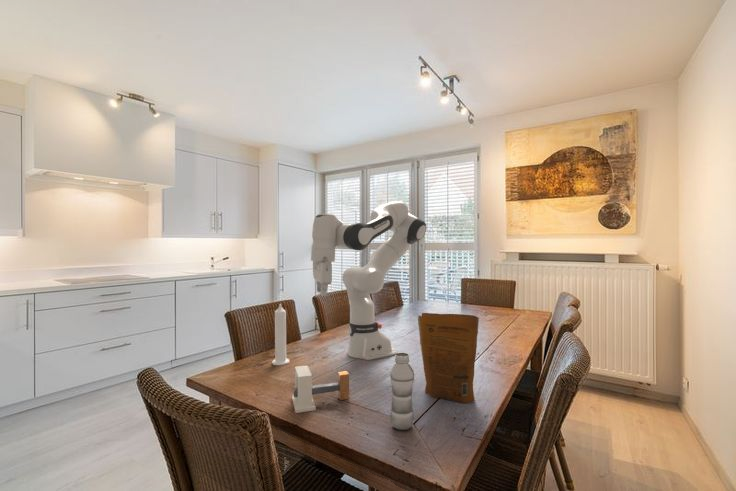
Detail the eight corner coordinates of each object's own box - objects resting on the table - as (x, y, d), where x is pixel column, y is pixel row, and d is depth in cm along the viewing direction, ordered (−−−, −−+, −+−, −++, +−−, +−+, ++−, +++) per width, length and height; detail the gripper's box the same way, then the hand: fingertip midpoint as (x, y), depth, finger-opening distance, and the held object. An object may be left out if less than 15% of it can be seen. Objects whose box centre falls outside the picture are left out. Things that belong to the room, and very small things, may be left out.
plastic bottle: (388, 421, 99) (387, 351, 98) (411, 420, 99) (411, 350, 99) (391, 433, 92) (391, 359, 92) (416, 432, 93) (416, 358, 92)
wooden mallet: (346, 394, 115) (346, 370, 115) (349, 398, 112) (349, 374, 112) (293, 402, 109) (293, 377, 109) (294, 407, 107) (294, 381, 106)
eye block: (310, 395, 115) (310, 364, 114) (315, 409, 105) (315, 375, 105) (292, 398, 113) (291, 366, 113) (295, 413, 103) (295, 378, 103)
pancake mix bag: (477, 408, 106) (477, 317, 105) (417, 396, 114) (417, 311, 114) (480, 399, 112) (480, 313, 111) (423, 388, 120) (423, 307, 120)
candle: (285, 366, 142) (284, 305, 141) (269, 365, 143) (268, 304, 142) (292, 360, 148) (291, 302, 148) (276, 359, 150) (276, 301, 149)
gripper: (337, 258, 120) (335, 298, 120) (326, 255, 139) (324, 290, 139) (319, 257, 118) (317, 298, 118) (310, 255, 138) (309, 289, 138)
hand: (321, 293), depth 129 cm, fingers open, 8 cm apart
